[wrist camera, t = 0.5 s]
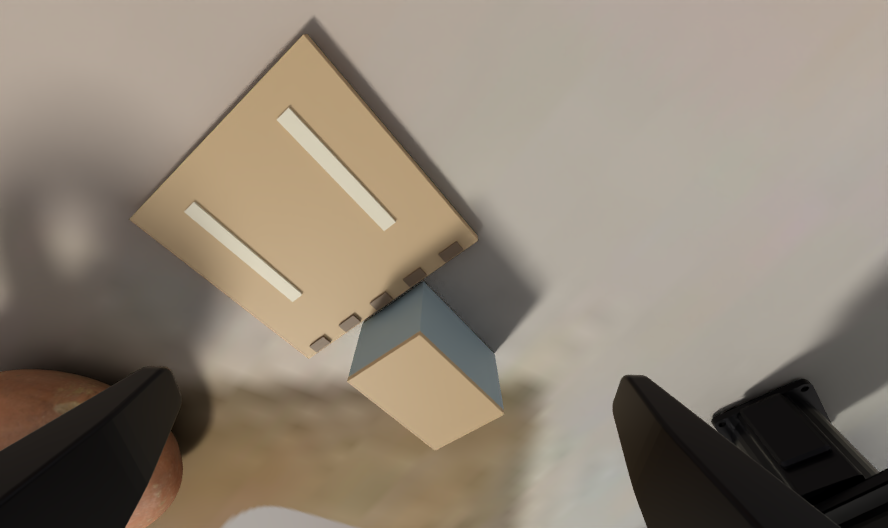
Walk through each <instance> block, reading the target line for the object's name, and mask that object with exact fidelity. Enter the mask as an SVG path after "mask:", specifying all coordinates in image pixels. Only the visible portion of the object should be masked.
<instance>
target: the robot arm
mask: <svg viewBox="0 0 888 528" xmlns="http://www.w3.org/2000/svg"><path fill="white" fill-rule="evenodd" d="M181 403H182V397H181V393H180V390H179V388H178V386H177V383H176V381H175V378H174V376H173V373H172V371H171V370H170V369H169V368H168V367H164V366H147V367H143V368H141V369H139V370H138V371H136V372H134V373H132V374H131V375H129V376H127V377H126V378H124V379H122V380H120V381H119V382H117V383H115V384H114V385H112V386H110V387H109V388H107V389H105V390H103V391H102V392H100V393H98V394H97V395H95V396H93V397H91V398H90V399H88V400H86V401H85V402H83V403H81V404H80V405H78V406H76V407H74V408H73V409H71V410H69V411H68V412H66V413H64V414H62V415H61V416H59V417H57V418H56V419H54V420H52V421H51V422H49V423H47V424H45V425H44V426H42V427H40V428H39V429H37V430H35V431H33V432H32V433H30V434H28V435H27V436H25V437H23V438H21V439H20V440H18V441H16V442H15V443H13V444H11V445H9V446H8V447H6V448H4V449H3V450H1V451H0V528H125V527H126V525H127V523H128V522H129V520H130V518H131V516H132V514H133V512H134V510H135V509H136V507H137V505H138V503H139V501H140V499H141V497H142V495H143V493H144V491H145V489H146V487H147V485H148V483H149V481H150V479H151V477H152V475H153V472H154V470H155V468H156V465H157V463H158V460H159V458H160V456H161V453H162V451H163V448H164V446H165V444H166V441H167V439H168V436H169V434H170V432H171V429H172V427H173V425H174V422H175V420H176V417H177V415H178V413H179V410H180V407H181ZM613 415H614V419H615V423H616V427H617V431H618V434H619V438H620V442H621V446H622V450H623V453H624V457H625V461H626V465H627V469H628V472H629V476H630V480H631V483H632V486H633V490H634V493H635V496H636V498H637V501H638V504H639V507H640V509H641V512H642V515H643V517H644V520H645V523H646V525H647V528H888V469H885V470H883V471H881V472H879V471H878V470H877V469H876V468H875V467H874V466H873V465H872V464H871V463H870V462H869V461H868V460H867V459H866V458H865V457H864V456H863V455H862V454H861V453H860V452H859V451H858V450H857V449H856V448H855V447H854V446H853V445H852V444H851V443H850V442H849V441H848V440H847V439H846V438H845V437H844V436H843V435H842V434H841V433H840V432H839V431H838V430H837V429H836V428H835V427H834V426H833V425H832V424H831V422H830V420H829V418H828V416H827V414H826V412H825V410H824V407H823V405H822V403H821V401H820V399H819V397H818V395H817V393H816V391H815V389H814V387H813V385H812V384H811V383H810V382H808V381H807V380H806V379H801V380H798V381H795V382H793V383H791V384H789V385H786V386H784V387H782V388H779V389H777V390H775V391H773V392H770V393H768V394H766V395H763V396H761V397H759V398H757V399H754V400H752V401H750V402H747V403H745V404H743V405H741V406H738V407H736V408H734V409H731V410H729V411H727V412H725V413H722V414H720V415H718V416H716V417H714V418H713V419H712V421H711V422H712V424H713V426H714V427H715V428H716V430H717V431H718V432H717V431H716V430H715V429H714V428H712V427H711V426H710V425H708V424H707V423H706V422H705V421H703V420H702V419H701V418H699V417H698V416H697V415H696V414H694V413H693V412H692V411H690V410H689V409H688V408H687V407H685V406H684V405H683V404H681V403H680V402H679V401H678V400H676V399H675V398H674V397H672V396H671V395H670V394H669V393H667V392H666V391H665V390H663V389H662V388H661V387H660V386H658V385H657V384H656V383H654V382H653V381H652V380H651V379H649V378H648V377H646V376H643V375H625V376H623V377H622V379H621V381H620V384H619V387H618V390H617V393H616V395H615V398H614V401H613Z"/></svg>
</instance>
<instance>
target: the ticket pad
mask: <svg viewBox="0 0 888 528" xmlns="http://www.w3.org/2000/svg"><path fill="white" fill-rule="evenodd" d="M129 220H130V221H132V222H133V223H134V224H135V225H137V226H138V227H139V228H141V229H142V230H143V231H144V232H146V233H147V234H148V235H150V236H151V237H152V238H154V239H155V240H156V241H157V242H159V243H160V244H161V245H163V246H164V247H165V248H166V249H168V250H169V251H170V252H172V253H173V254H174V255H175V256H177V257H178V258H179V259H181V260H182V261H183V262H184V263H186V264H187V265H188V266H190V267H191V268H192V269H193V270H195V271H196V272H197V273H199V274H200V275H201V276H203V277H204V278H205V279H206V280H208V281H209V282H210V283H212V284H213V285H214V286H215V287H217V288H218V289H219V290H221V291H222V292H223V293H224V294H226V295H227V296H228V297H230V298H231V299H232V300H233V301H235V302H236V303H237V304H239V305H240V306H241V307H243V308H244V309H245V310H246V311H248V312H249V313H250V314H252V315H253V316H254V317H255V318H257V319H258V320H259V321H261V322H262V323H263V324H264V325H266V326H267V327H268V328H270V329H271V330H272V331H273V332H275V333H276V334H277V335H279V336H280V337H281V338H283V339H284V340H285V341H286V342H288V343H289V344H290V345H292V346H293V347H294V348H295V349H297V350H298V351H299V352H301V353H302V354H303V355H304V356H306V357H307V358H308V359H309V358H311V357H312V356H314V355H315V354H316V353H318V352H319V351H321V350H322V349H324V348H325V347H326V346H328V345H329V344H331V343H332V342H334V341H335V340H336V339H338V338H339V337H341V336H342V335H344V334H345V333H347V332H348V331H349V330H351V329H352V328H354V327H355V326H357V325H358V324H359V323H361V322H362V321H364V320H365V319H367V318H368V317H369V316H371V315H372V314H374V313H375V312H377V311H378V310H379V309H381V308H382V307H384V306H385V305H387V304H388V303H390V302H391V301H392V300H394V299H395V298H397V297H398V296H400V295H401V294H402V293H404V292H405V291H407V290H408V289H410V288H411V287H412V286H414V285H415V284H417V283H418V282H420V281H421V280H422V279H424V278H425V277H427V276H428V275H430V274H431V273H433V272H434V271H435V270H437V269H438V268H440V267H441V266H443V265H444V264H445V263H447V262H448V261H450V260H451V259H453V258H454V257H455V256H457V255H458V254H460V253H461V252H463V251H464V250H465V249H467V248H468V247H470V246H471V245H473V244H474V243H476V242H477V241H478V236H477V234H476V233H475V232H474V231H473V230H472V229H471V227H470V226H469V225H468V224H467V223H466V221H465V220H464V219H463V218H462V217H461V216H460V214H459V213H458V212H457V211H456V210H455V208H454V207H453V206H452V205H451V204H450V203H449V201H448V200H447V199H446V198H445V197H444V195H443V194H442V193H441V192H440V191H439V189H438V188H437V187H436V186H435V185H434V184H433V182H432V181H431V180H430V179H429V178H428V176H427V175H426V174H425V173H424V172H423V171H422V169H421V168H420V167H419V166H418V165H417V163H416V162H415V161H414V160H413V159H412V158H411V156H410V155H409V154H408V153H407V152H406V150H405V149H404V148H403V147H402V146H401V144H400V143H399V142H398V141H397V140H396V139H395V137H394V136H393V135H392V134H391V133H390V131H389V130H388V129H387V128H386V127H385V126H384V124H383V123H382V122H381V121H380V120H379V118H378V117H377V116H376V115H375V114H374V113H373V111H372V110H371V109H370V108H369V107H368V105H367V104H366V103H365V102H364V101H363V99H362V98H361V97H360V96H359V95H358V94H357V92H356V91H355V90H354V89H353V88H352V86H351V85H350V84H349V83H348V82H347V81H346V79H345V78H344V77H343V76H342V75H341V73H340V72H339V71H338V70H337V69H336V68H335V66H334V65H333V64H332V63H331V62H330V60H329V59H328V58H327V57H326V56H325V54H324V53H323V52H322V51H321V50H320V49H319V47H318V46H317V45H316V44H315V43H314V41H313V40H312V39H311V38H310V37H309V36H308V34H304V35H302V36H301V38H300V39H299V40H298V41H297V42H296V43H295V44H294V45H293V46H292V47H291V48H290V49H289V50H288V51H287V52H286V53H285V54H284V56H283V57H282V58H281V59H280V60H279V61H278V62H277V63H276V64H275V65H274V66H273V67H272V68H271V69H270V70H269V71H268V73H267V74H266V75H265V76H264V77H263V78H262V79H261V80H260V81H259V82H258V83H257V84H256V85H255V86H254V87H253V88H252V89H251V91H250V92H249V93H248V94H247V95H246V96H245V97H244V98H243V99H242V100H241V101H240V102H239V103H238V104H237V105H236V106H235V108H234V109H233V110H232V111H231V112H230V113H229V114H228V115H227V116H226V117H225V118H224V119H223V120H222V121H221V122H220V123H219V125H218V126H217V127H216V128H215V129H214V130H213V131H212V132H211V133H210V134H209V135H208V136H207V137H206V138H205V139H204V140H203V141H202V143H201V144H200V145H199V146H198V147H197V148H196V149H195V150H194V151H193V152H192V153H191V154H190V155H189V156H188V157H187V158H186V160H185V161H184V162H183V163H182V164H181V165H180V166H179V167H178V168H177V169H176V170H175V171H174V172H173V173H172V174H171V175H170V177H169V178H168V179H167V180H166V181H165V182H164V183H163V184H162V185H161V186H160V187H159V188H158V189H157V190H156V191H155V192H154V193H153V195H152V196H151V197H150V198H149V199H148V200H147V201H146V202H145V203H144V204H143V205H142V206H141V207H140V208H139V209H138V210H137V212H136V213H135V214H134V215H133V216H132V217H131V218H130V219H129Z"/></svg>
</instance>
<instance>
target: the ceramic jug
mask: <svg viewBox="0 0 888 528" xmlns="http://www.w3.org/2000/svg"><path fill="white" fill-rule="evenodd" d="M109 387H110V385H108V384H105V383H103V382H100V381H98V380H95V379H91V378H88V377H84V376H80V375H76V374H72V373H67V372H61V371H54V370H38V369H21V370H10V371H2V372H0V451H1V450H3V449H4V448H6V447H8V446H9V445H11V444H13V443H15V442H16V441H18V440H20V439H21V438H23V437H25V436H27V435H28V434H30V433H32V432H33V431H35V430H37V429H39V428H40V427H42V426H44V425H45V424H47V423H49V422H51V421H52V420H54V419H56V418H57V417H59V416H61V415H62V414H64V413H66V412H68V411H69V410H71V409H73V408H74V407H76V406H78V405H80V404H81V403H83V402H85V401H86V400H88V399H90V398H91V397H93V396H95V395H97V394H98V393H100V392H102V391H103V390H105V389H107V388H109ZM182 474H183V464H182V458H181V454H180V450H179V446H178V443H177V441H176V438H175V437H174V435H173V433H172V432H170V434H169V436H168V439H167V441H166V444H165V446H164V448H163V451H162V453H161V456H160V458H159V460H158V463H157V465H156V468H155V470H154V472H153V475H152V477H151V479H150V481H149V483H148V485H147V487H146V489H145V491H144V493H143V495H142V497H141V499H140V501H139V503H138V505H137V507H136V509H135V510H134V512H133V514H132V516H131V518H130V520H129V522H128V523H127V525H126V527H125V528H145V527H146V526H148V525H149V524H151V523H152V522H154V521H155V520H156V519H157V518H158V517H160V516H161V515H162V514H163V513H164V512H165V511H166V510H167V508H168V507H169V506H170V505H171V503H172V502H173V500H174V499H175V497H176V495H177V493H178V490H179V488H180V485H181V481H182Z"/></svg>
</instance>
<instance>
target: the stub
mask: <svg viewBox="0 0 888 528" xmlns="http://www.w3.org/2000/svg"><path fill="white" fill-rule="evenodd" d="M347 382H348V383H349V384H351V385H352V386H353V387H355V388H356V389H357V390H358V391H360V392H361V393H362V394H364V395H365V396H366V397H367V398H369V399H370V400H371V401H372V402H374V403H375V404H376V405H378V406H379V407H380V408H381V409H383V410H384V411H385V412H386V413H388V414H389V415H390V416H392V417H393V418H394V419H395V420H397V421H398V422H399V423H400V424H402V425H403V426H404V427H406V428H407V429H408V430H409V431H411V432H412V433H413V434H415V435H416V436H417V437H418V438H420V439H421V440H422V441H423V442H425V443H426V444H427V445H429V446H430V447H431V448H432V449H434V450H437V449H439V448H441V447H443V446H445V445H447V444H449V443H451V442H453V441H454V440H456V439H458V438H460V437H462V436H464V435H466V434H468V433H470V432H472V431H474V430H475V429H477V428H479V427H481V426H483V425H485V424H487V423H489V422H491V421H493V420H495V419H496V418H498V417H500V416H502V415H504V408H503V402H502V396H501V390H500V384H499V378H498V372H497V366H496V360H495V354H494V353H493V352H492V351H491V350H490V349H489V348H488V347H487V346H486V345H485V344H484V343H483V342H482V341H481V340H480V339H479V338H478V337H477V336H476V335H475V334H474V332H473V331H472V330H471V329H470V328H469V327H468V326H467V325H466V324H465V323H464V322H463V321H462V320H461V319H460V318H459V317H458V316H457V315H456V314H455V313H454V312H453V311H452V310H451V309H450V308H449V307H448V306H447V305H446V304H445V303H444V302H443V301H442V300H441V299H440V298H439V297H438V296H437V295H436V294H435V293H434V292H433V291H432V290H431V289H430V288H429V287H428V285H427V284H426V283H425V282H424V281H423V282H422V283H420V284H419V285H417V286H416V287H415V288H413V289H412V290H410V291H409V292H407V293H406V294H405V295H403V296H402V297H400V298H399V299H397V300H396V301H394V302H393V303H392V304H390V305H389V306H387V307H386V308H384V309H383V310H381V311H380V312H379V313H377V314H376V315H374V316H373V317H371V318H370V319H369V320H367V321H366V322H364V323H363V324H362V328H361V332H360V335H359V339H358V343H357V347H356V350H355V354H354V358H353V362H352V365H351V369H350V373H349V377H348V380H347Z"/></svg>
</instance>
